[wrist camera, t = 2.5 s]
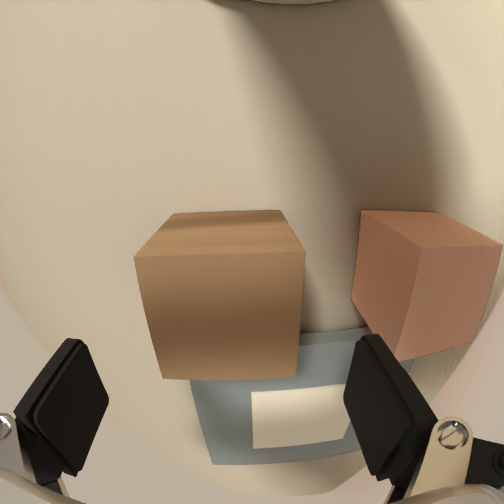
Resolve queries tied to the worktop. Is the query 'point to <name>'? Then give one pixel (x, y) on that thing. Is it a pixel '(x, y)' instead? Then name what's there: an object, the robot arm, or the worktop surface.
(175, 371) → the walnut block
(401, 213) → the terracotta block
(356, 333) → the baseplate
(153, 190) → the worktop surface
